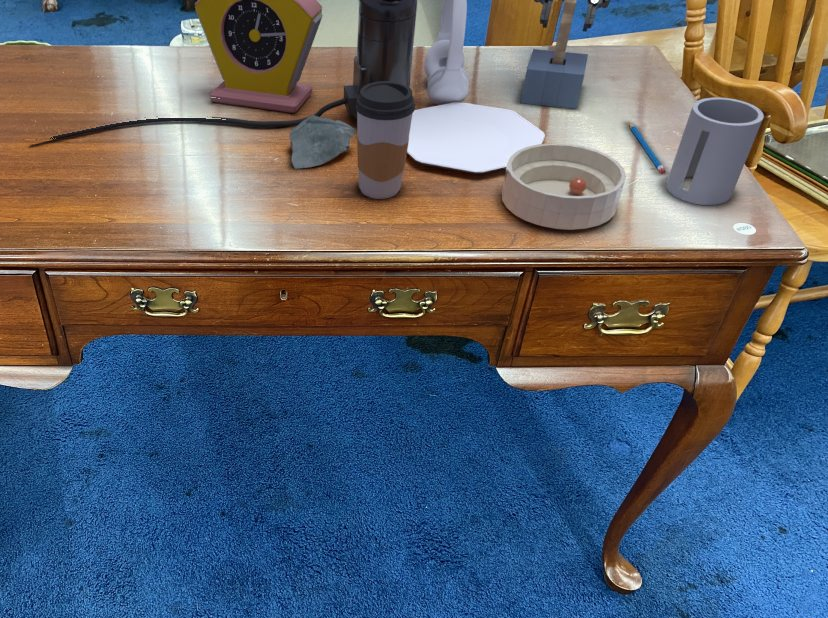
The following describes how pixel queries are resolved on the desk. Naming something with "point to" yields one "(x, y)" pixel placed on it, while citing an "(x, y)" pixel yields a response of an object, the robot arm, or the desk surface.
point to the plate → (469, 137)
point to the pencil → (647, 149)
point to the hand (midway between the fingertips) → (565, 27)
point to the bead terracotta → (577, 186)
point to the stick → (564, 31)
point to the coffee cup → (383, 136)
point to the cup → (714, 150)
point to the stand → (554, 79)
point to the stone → (319, 141)
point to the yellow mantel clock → (260, 49)
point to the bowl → (562, 186)
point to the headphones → (448, 56)
